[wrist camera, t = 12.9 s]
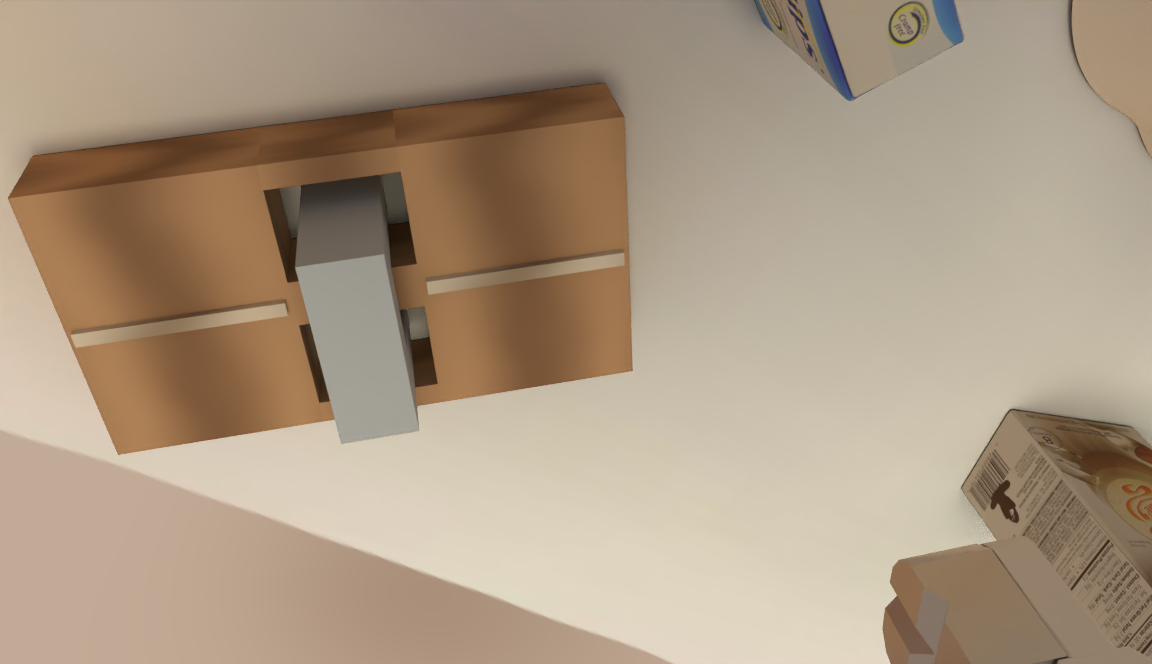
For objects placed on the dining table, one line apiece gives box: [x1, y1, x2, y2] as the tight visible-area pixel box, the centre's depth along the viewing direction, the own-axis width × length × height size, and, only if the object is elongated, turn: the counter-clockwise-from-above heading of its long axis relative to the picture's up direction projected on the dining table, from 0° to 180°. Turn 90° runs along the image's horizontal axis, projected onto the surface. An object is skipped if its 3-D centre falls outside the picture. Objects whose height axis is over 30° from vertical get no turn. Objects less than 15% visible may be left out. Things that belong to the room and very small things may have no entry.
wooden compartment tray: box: [8, 83, 633, 455], centre depth 41 cm, size 22×12×4 cm, turn 93°
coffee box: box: [962, 410, 1152, 659], centre depth 52 cm, size 9×6×16 cm
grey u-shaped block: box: [295, 175, 419, 444], centre depth 40 cm, size 3×8×8 cm, turn 3°
